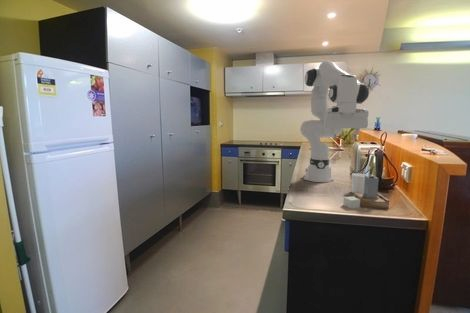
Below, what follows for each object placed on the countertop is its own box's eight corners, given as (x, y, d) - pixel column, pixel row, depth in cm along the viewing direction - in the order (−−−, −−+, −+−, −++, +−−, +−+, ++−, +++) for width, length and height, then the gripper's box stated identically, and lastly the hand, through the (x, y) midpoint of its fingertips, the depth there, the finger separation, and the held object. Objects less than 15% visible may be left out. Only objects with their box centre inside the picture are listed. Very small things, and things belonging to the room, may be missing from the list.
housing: (362, 195, 130) (364, 173, 128) (373, 196, 129) (375, 174, 127) (366, 199, 125) (368, 176, 123) (378, 199, 124) (380, 176, 122)
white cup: (367, 192, 147) (368, 174, 145) (364, 195, 140) (366, 177, 139) (351, 189, 151) (353, 172, 150) (348, 193, 145) (350, 175, 143)
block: (343, 205, 125) (343, 197, 125) (352, 204, 126) (353, 196, 126) (350, 208, 120) (350, 200, 120) (359, 208, 122) (360, 199, 121)
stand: (352, 199, 134) (353, 192, 133) (377, 200, 132) (378, 192, 132) (361, 207, 122) (361, 199, 121) (388, 208, 121) (389, 200, 120)
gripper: (366, 109, 130) (364, 137, 132) (323, 109, 132) (321, 136, 134) (371, 108, 123) (369, 138, 125) (326, 108, 126) (324, 137, 128)
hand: (344, 137), depth 130 cm, fingers open, 8 cm apart
